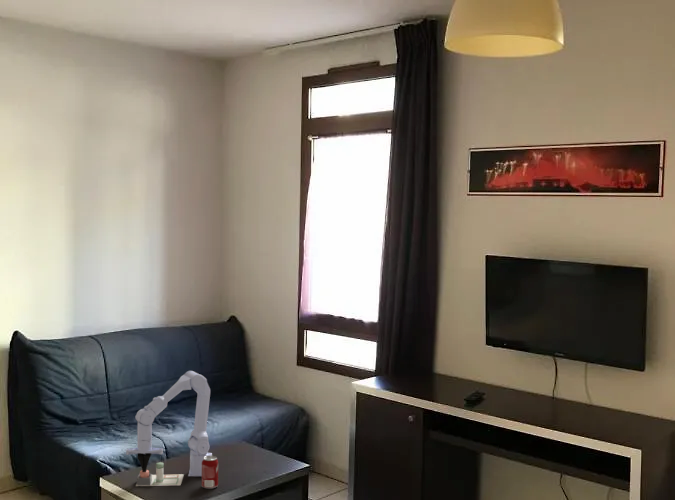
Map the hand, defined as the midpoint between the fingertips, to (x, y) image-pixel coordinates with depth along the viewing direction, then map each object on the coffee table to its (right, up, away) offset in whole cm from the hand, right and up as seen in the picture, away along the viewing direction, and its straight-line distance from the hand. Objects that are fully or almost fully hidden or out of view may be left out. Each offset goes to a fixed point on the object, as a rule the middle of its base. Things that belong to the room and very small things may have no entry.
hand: (144, 471), depth 314 cm
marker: (+6, -5, +2) cm, 8 cm away
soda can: (+27, -6, -2) cm, 28 cm away
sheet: (+6, -5, +4) cm, 9 cm away
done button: (0, -4, 0) cm, 4 cm away
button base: (0, -5, 0) cm, 5 cm away
